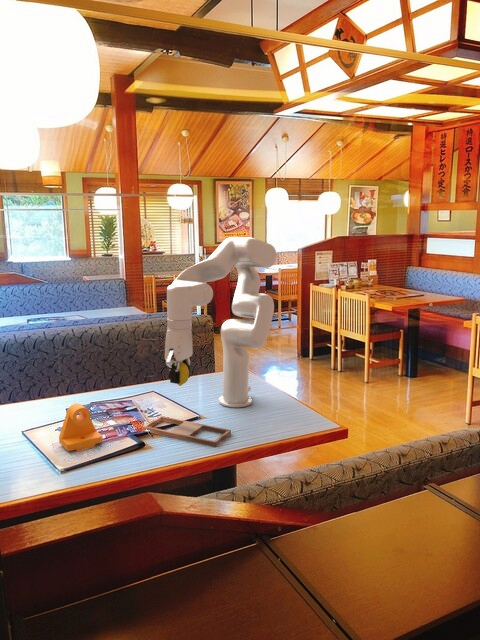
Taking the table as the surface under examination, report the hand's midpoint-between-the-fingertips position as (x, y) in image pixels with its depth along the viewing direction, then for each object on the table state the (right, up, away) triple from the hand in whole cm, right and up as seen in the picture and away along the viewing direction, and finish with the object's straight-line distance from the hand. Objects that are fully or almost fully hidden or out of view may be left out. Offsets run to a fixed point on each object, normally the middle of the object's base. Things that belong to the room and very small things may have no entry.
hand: (180, 379), depth 161 cm
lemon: (0, -2, 0) cm, 2 cm away
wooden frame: (+2, -17, +2) cm, 18 cm away
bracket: (-29, -19, -7) cm, 35 cm away
